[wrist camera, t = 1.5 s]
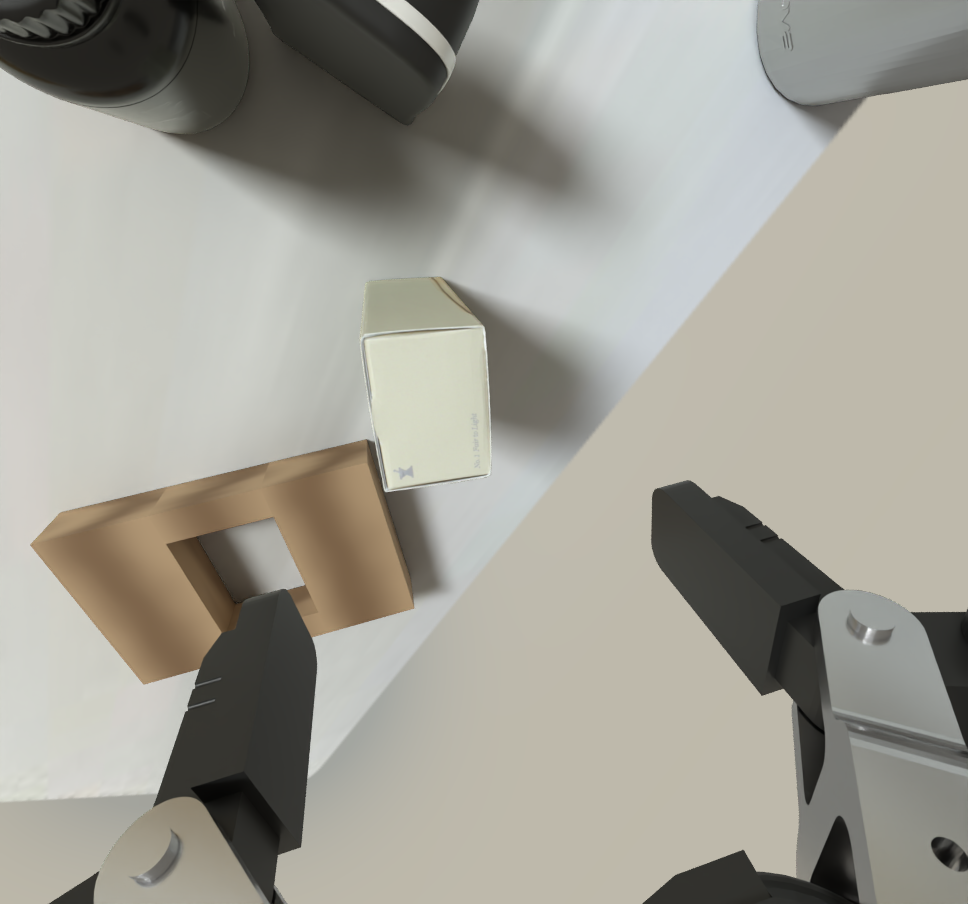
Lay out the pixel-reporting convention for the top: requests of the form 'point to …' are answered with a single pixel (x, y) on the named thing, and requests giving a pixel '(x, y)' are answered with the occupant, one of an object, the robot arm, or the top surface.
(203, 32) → the supplement bottle
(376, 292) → the skincare box
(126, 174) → the top surface
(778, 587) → the robot arm
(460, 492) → the top surface
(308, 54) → the battery charger
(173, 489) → the board
